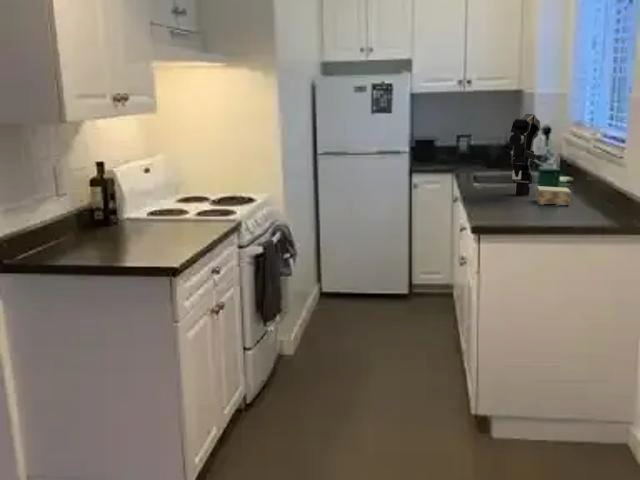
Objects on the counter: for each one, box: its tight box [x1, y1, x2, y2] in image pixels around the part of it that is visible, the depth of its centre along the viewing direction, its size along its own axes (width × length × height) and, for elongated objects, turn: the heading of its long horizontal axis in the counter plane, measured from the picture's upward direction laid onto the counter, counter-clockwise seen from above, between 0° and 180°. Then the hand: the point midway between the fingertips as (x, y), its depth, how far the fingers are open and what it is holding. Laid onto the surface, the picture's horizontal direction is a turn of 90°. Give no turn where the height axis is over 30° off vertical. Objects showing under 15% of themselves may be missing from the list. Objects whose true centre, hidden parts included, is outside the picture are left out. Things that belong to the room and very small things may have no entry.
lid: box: [536, 185, 571, 193], centre depth 330 cm, size 14×14×1 cm
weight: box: [511, 169, 521, 180], centre depth 342 cm, size 4×4×4 cm
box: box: [535, 187, 571, 205], centre depth 331 cm, size 14×14×6 cm
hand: (516, 176), depth 342 cm, fingers closed on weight, 4 cm apart
